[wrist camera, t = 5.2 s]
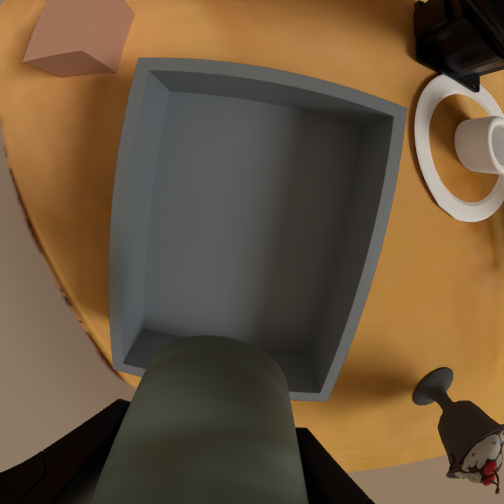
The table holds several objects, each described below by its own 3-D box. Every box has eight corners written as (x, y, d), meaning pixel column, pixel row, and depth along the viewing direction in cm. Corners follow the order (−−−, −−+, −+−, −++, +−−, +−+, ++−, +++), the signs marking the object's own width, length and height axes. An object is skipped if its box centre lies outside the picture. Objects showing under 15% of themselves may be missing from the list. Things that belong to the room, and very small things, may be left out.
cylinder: (305, 347, 9) (368, 566, 2) (269, 443, 10) (283, 597, 3) (144, 320, 8) (33, 523, 2) (146, 423, 10) (101, 572, 3)
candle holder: (435, 243, 19) (469, 259, 15) (383, 89, 16) (414, 73, 12) (518, 193, 18) (549, 200, 14) (481, 68, 15) (512, 58, 11)
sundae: (417, 365, 22) (501, 485, 7) (467, 355, 22) (549, 448, 8) (396, 415, 24) (452, 528, 9) (445, 403, 24) (505, 495, 9)
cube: (135, 14, 14) (109, -18, 9) (116, 73, 16) (82, 50, 11) (80, 22, 14) (47, -2, 9) (62, 77, 15) (22, 62, 10)
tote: (369, 121, 17) (406, 108, 12) (312, 357, 21) (327, 401, 16) (164, 83, 16) (138, 57, 11) (137, 330, 20) (113, 369, 16)
